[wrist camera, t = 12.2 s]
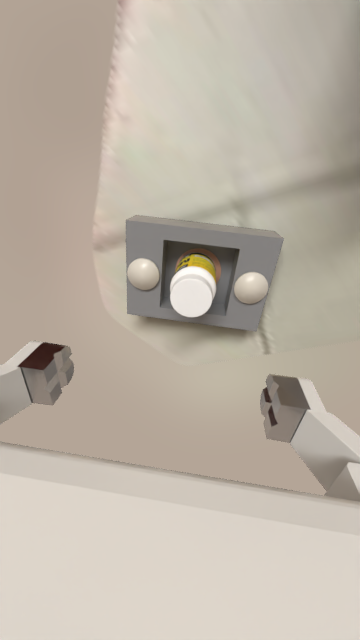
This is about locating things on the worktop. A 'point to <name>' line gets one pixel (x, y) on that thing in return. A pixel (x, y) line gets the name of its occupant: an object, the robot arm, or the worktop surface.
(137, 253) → the housing
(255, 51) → the worktop surface
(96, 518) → the robot arm
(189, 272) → the supplement bottle
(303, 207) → the worktop surface
